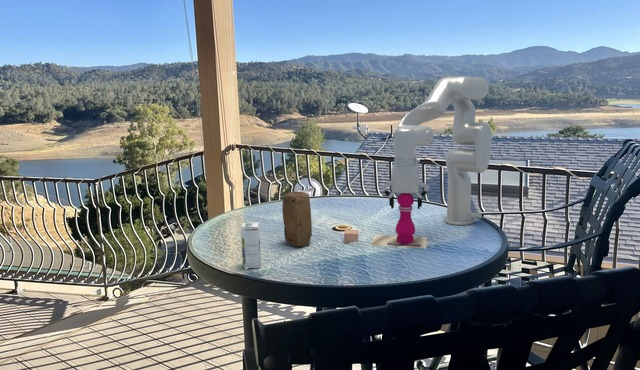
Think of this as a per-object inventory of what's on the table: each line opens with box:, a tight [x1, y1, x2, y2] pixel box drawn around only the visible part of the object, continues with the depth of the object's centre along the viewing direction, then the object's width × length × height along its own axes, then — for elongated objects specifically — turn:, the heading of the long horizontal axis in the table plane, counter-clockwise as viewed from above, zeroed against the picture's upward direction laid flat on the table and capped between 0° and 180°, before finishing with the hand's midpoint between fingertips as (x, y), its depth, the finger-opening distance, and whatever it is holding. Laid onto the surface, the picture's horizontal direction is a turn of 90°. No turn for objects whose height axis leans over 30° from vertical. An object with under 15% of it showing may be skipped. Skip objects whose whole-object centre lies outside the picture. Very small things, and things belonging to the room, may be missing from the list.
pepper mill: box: [395, 193, 416, 244], centre depth 174 cm, size 7×7×20 cm
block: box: [281, 190, 313, 248], centre depth 178 cm, size 11×8×20 cm
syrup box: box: [240, 221, 262, 269], centre depth 157 cm, size 6×6×14 cm
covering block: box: [343, 229, 359, 244], centre depth 180 cm, size 5×5×4 cm
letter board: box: [370, 234, 428, 249], centre depth 176 cm, size 20×13×1 cm, turn 75°
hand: (405, 208), depth 173 cm, fingers open, 9 cm apart
